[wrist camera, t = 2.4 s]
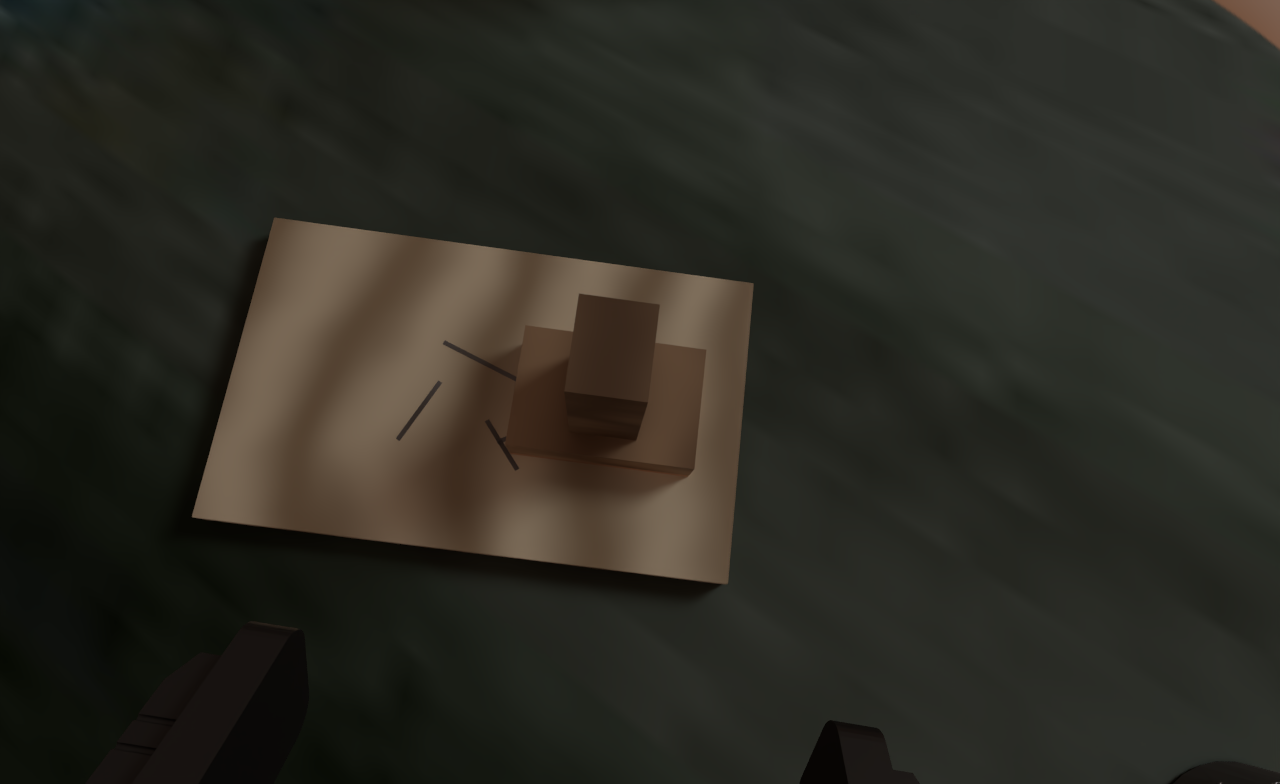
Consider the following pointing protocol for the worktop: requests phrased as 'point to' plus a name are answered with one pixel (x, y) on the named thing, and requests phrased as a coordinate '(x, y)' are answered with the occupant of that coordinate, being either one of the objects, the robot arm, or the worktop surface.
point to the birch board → (459, 406)
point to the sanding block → (608, 391)
